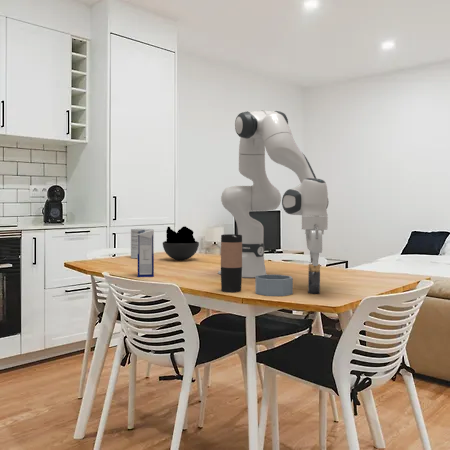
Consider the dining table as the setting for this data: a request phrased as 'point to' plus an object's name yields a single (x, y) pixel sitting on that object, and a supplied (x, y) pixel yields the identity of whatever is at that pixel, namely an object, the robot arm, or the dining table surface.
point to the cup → (274, 285)
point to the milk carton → (146, 253)
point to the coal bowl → (180, 244)
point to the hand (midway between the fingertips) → (314, 264)
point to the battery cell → (314, 279)
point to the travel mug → (231, 262)
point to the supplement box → (135, 242)
